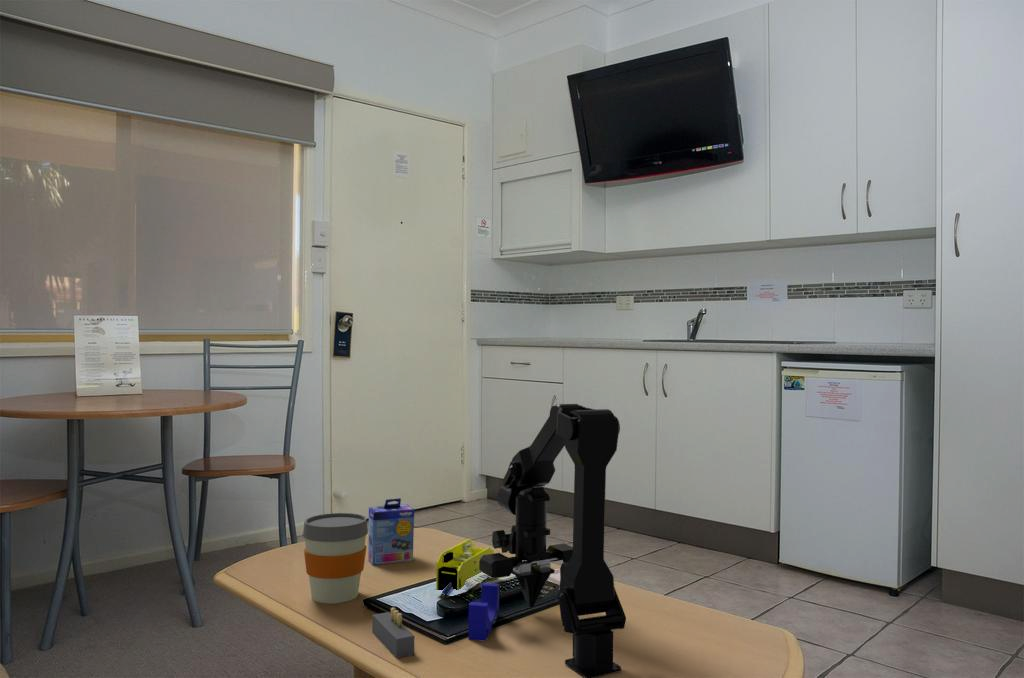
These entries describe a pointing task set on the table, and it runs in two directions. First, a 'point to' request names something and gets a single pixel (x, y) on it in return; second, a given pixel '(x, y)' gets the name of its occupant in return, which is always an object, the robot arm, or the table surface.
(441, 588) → the yellow toy chassis
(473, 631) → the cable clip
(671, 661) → the table surface
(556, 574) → the soap bar
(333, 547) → the reusable coffee cup
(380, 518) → the ink cartridge box
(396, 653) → the header strip
